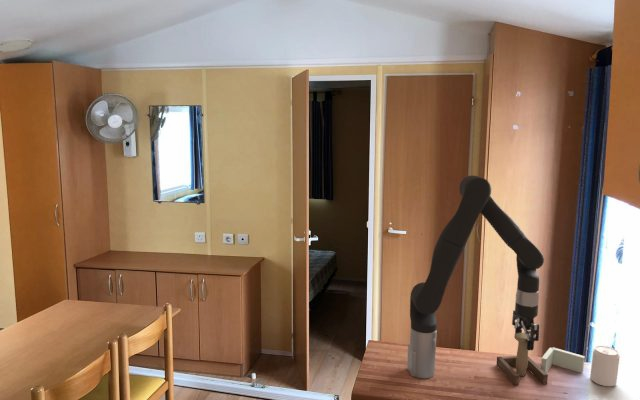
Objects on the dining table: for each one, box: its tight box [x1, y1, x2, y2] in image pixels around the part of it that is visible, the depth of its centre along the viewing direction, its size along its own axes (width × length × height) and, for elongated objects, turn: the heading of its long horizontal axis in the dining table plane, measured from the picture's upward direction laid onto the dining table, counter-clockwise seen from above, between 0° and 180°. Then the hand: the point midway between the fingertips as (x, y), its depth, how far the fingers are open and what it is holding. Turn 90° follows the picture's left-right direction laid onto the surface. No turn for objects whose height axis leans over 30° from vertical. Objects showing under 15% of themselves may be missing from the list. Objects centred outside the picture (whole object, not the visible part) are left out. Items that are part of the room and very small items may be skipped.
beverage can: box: [589, 345, 621, 387], centre depth 172 cm, size 8×8×12 cm
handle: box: [513, 332, 530, 377], centre depth 176 cm, size 5×6×15 cm
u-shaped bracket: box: [496, 355, 549, 386], centre depth 177 cm, size 12×14×4 cm
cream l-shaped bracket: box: [540, 346, 586, 374], centre depth 182 cm, size 17×9×6 cm, turn 95°
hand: (523, 344), depth 176 cm, fingers open, 8 cm apart
